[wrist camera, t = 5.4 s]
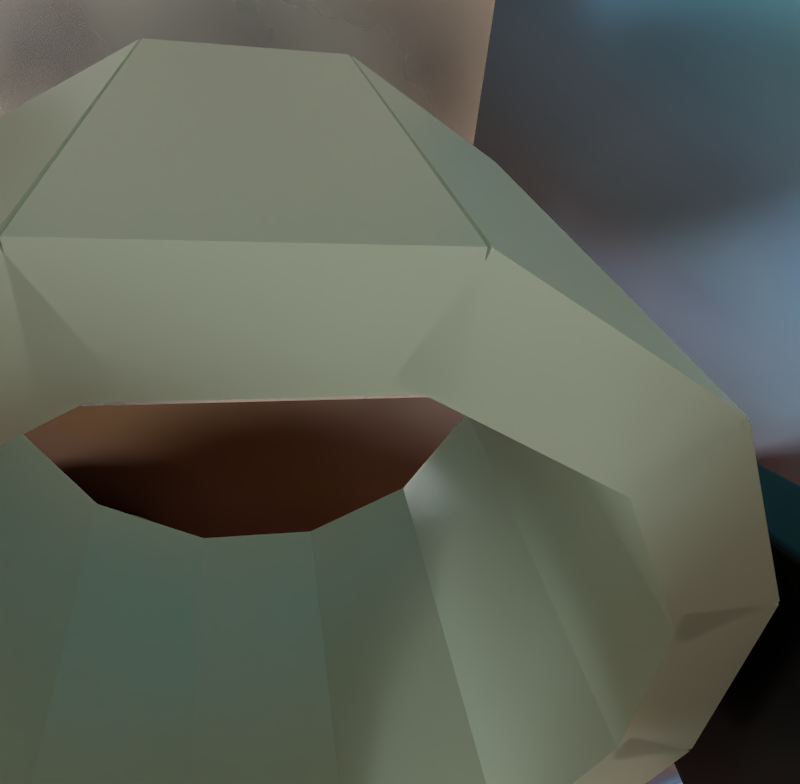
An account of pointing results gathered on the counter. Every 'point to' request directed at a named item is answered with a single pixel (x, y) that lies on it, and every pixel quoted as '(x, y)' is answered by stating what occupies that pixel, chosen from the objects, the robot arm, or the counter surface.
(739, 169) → the counter surface
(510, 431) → the collar
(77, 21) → the beige rectangular block
